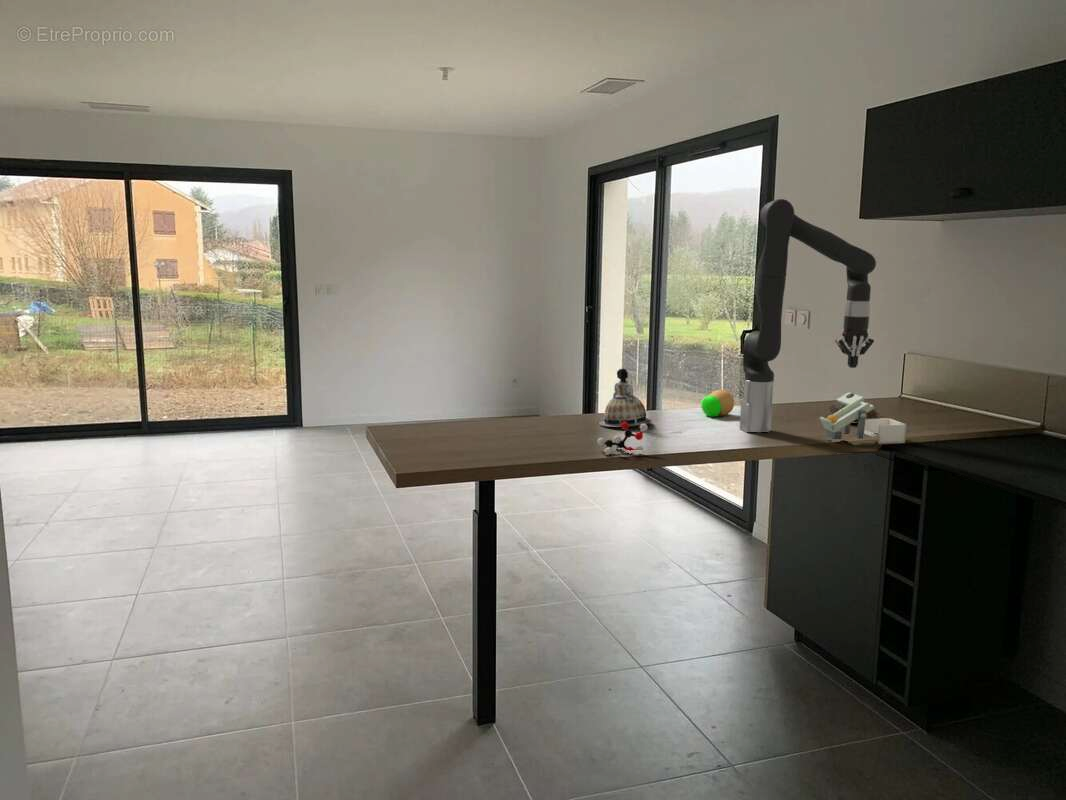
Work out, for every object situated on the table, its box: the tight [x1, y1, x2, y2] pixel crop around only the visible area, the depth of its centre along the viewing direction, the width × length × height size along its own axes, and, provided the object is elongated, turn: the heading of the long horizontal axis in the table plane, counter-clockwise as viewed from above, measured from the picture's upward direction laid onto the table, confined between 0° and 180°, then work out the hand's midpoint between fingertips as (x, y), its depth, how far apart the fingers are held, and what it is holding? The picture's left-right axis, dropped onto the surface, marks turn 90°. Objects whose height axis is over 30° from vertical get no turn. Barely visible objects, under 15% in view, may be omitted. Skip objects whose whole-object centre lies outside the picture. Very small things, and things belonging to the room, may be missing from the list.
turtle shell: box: [827, 401, 884, 423], centre depth 281 cm, size 16×9×20 cm
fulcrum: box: [825, 405, 876, 447], centre depth 251 cm, size 11×13×10 cm
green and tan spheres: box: [700, 389, 735, 418], centre depth 288 cm, size 11×10×12 cm
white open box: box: [864, 417, 908, 445], centre depth 252 cm, size 9×9×6 cm
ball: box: [826, 414, 838, 424], centre depth 250 cm, size 3×3×3 cm
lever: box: [819, 391, 875, 433], centre depth 255 cm, size 17×17×4 cm
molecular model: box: [597, 422, 649, 452], centre depth 235 cm, size 15×8×10 cm, turn 99°
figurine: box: [598, 367, 653, 428], centre depth 271 cm, size 18×18×20 cm
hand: (852, 367), depth 260 cm, fingers closed
